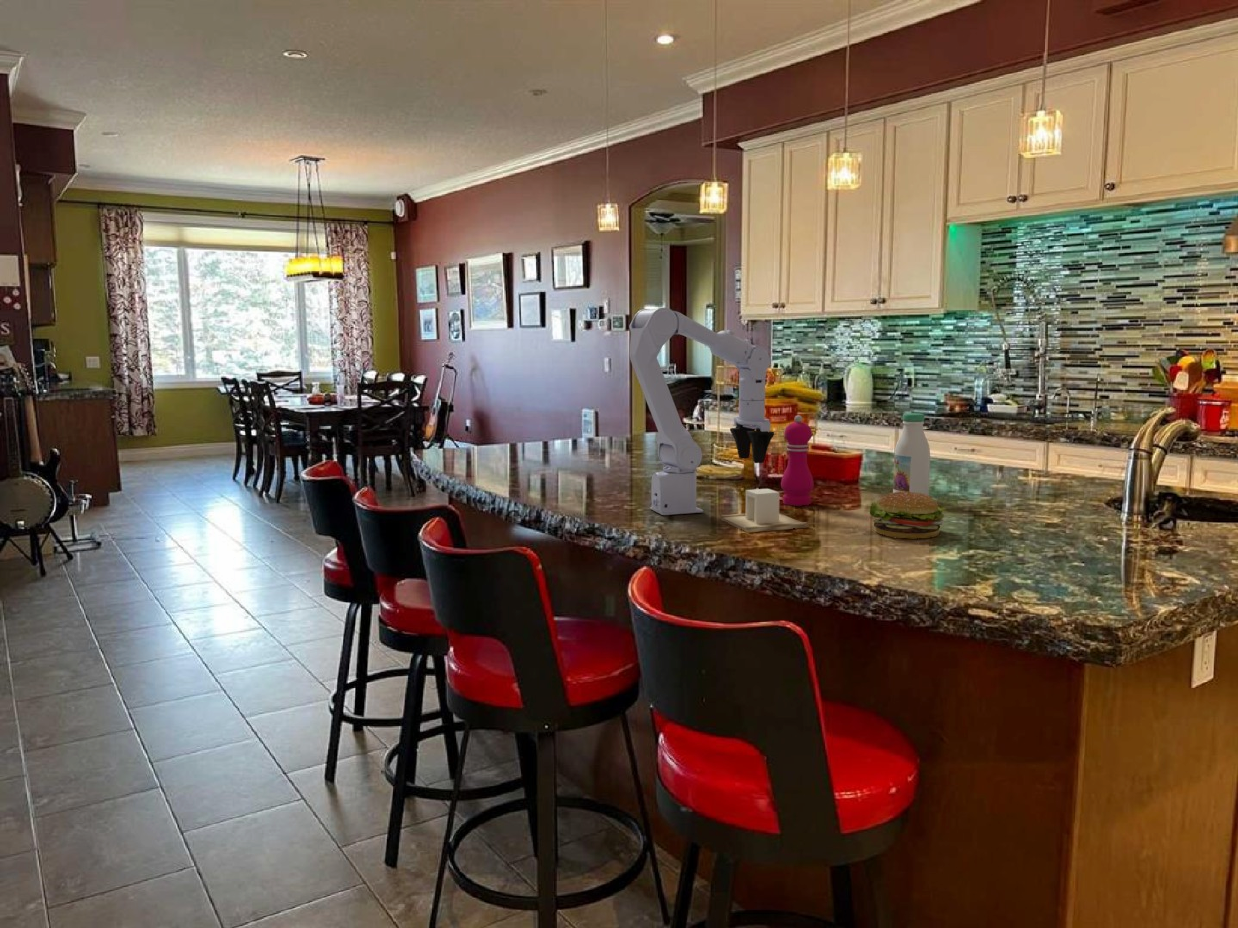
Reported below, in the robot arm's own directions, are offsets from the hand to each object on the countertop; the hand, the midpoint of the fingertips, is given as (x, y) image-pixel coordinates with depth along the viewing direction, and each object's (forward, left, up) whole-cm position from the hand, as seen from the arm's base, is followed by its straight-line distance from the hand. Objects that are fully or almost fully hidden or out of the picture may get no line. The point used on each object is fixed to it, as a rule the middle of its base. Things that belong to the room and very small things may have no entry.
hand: (751, 460), depth 199 cm
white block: (-7, -20, -9) cm, 23 cm away
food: (+15, -37, -10) cm, 41 cm away
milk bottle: (+35, -10, -10) cm, 38 cm away
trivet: (-7, -20, -10) cm, 23 cm away
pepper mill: (+10, -3, -10) cm, 15 cm away
